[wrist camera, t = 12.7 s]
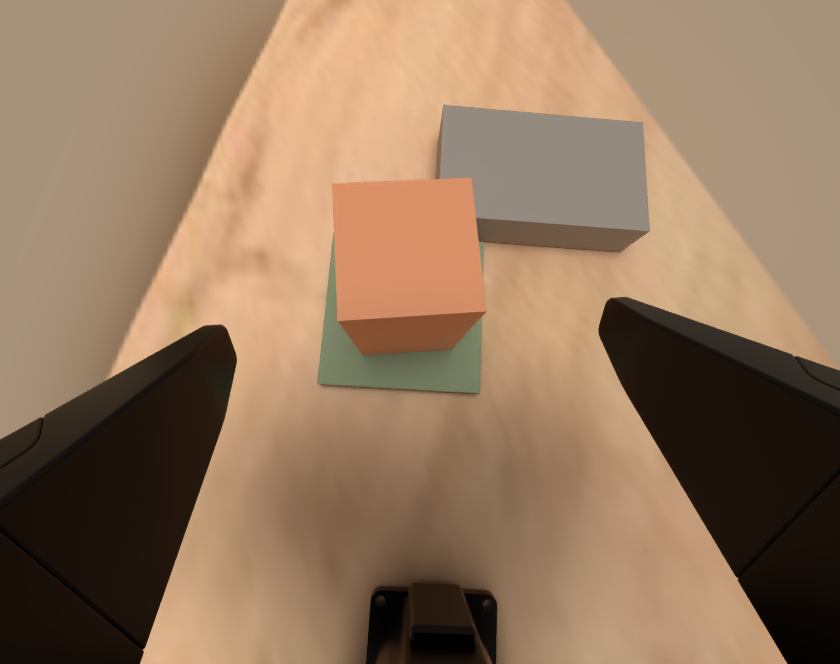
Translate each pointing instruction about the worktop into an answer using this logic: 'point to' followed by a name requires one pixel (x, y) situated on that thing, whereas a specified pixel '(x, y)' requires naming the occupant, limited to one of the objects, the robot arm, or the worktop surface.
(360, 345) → the terracotta block
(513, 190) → the slate block
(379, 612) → the robot arm
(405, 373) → the green mat
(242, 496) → the worktop surface
